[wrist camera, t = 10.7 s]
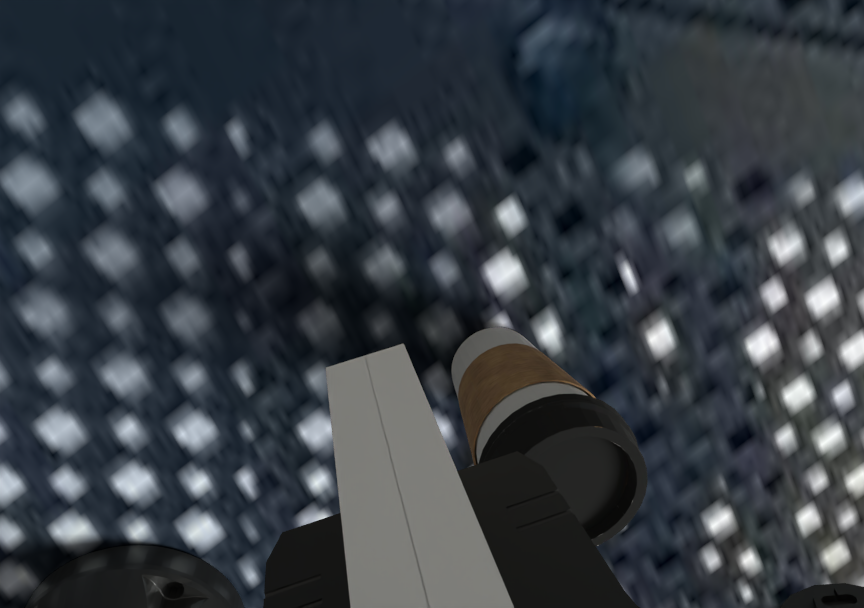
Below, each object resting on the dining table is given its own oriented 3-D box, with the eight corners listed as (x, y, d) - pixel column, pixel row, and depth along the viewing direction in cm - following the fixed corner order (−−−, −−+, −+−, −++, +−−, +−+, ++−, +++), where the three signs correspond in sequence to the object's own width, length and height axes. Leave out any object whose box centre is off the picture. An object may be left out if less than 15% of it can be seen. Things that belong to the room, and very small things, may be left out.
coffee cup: (443, 303, 43) (508, 414, 29) (562, 314, 44) (679, 424, 30) (423, 417, 45) (475, 570, 31) (537, 423, 47) (634, 570, 33)
